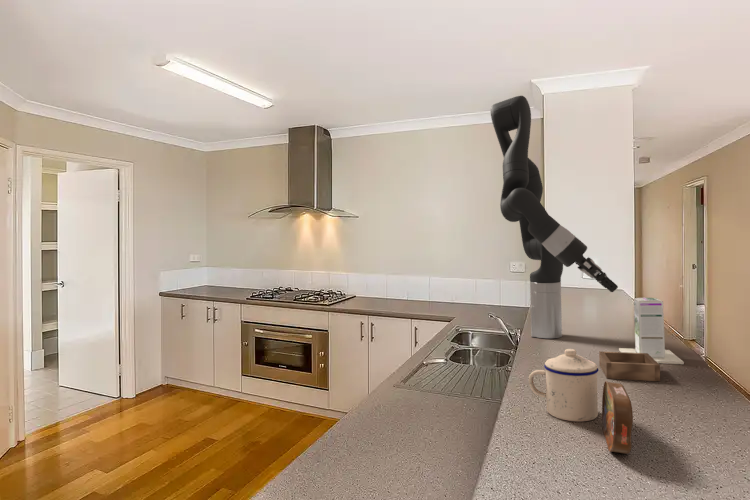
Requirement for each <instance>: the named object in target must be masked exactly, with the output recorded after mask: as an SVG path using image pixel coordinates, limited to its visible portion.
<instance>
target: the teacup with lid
mask: <svg viewBox="0 0 750 500" xmlns="http://www.w3.org/2000/svg"><path fill="white" fill-rule="evenodd" d="M543 367H544V369H545V370H544V369H535V370H533V371H532V372H531V373H530V374H529V375H528V385H529V388H530V389H531V391H532V392H533V393H534V394H535V395H537V396H538V397H540V398H545V399H546V412H548V414H550V415H551V416H552V417H553V418H557V419H559V420H562V421H568V422H576V423H577V422H578V423H579V422H590V421H593V420H595V419H597V417H598V414H599V412H598V411H599V410H598V409H599V408H598V405H599V403H598V402H599V401H598V398H599V397H598V372H599V367H598V365H597V363H595V362H593V361H592V360H589V359H587V358H584V357H583V356H581V355H579V354H577V350H576V349H573V348H566V349H565V350H564V353H563V354H560V355H557V356H555V357H552V358H548V359H547V360H546V361H545V362H544V365H543ZM537 375H543V376H545V392H543V391H540V390H539V389H537V387H536V386H535V384H534V376H537Z"/></svg>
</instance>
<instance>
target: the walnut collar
mask: <svg viewBox="0 0 750 500" xmlns="http://www.w3.org/2000/svg"><path fill="white" fill-rule="evenodd" d="M598 357H599V358H598V360H599V361H598V362H599V368H600V369H601V371H602V373H603V374H604V376H605V378H606V379H611V380H612V379H613V380H626V381H627V380H630V381H631V380H632V381H647V382H650V381H651V382H661V365H660V363H657V362H656V361H655V360H654V359H653V358H652V357H651V356H650V355H649V354H648V353H628V352H620V351H603V350H602V351H599V353H598Z"/></svg>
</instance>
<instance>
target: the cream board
mask: <svg viewBox="0 0 750 500" xmlns="http://www.w3.org/2000/svg"><path fill="white" fill-rule="evenodd" d="M618 352H628V353H636V352H635V348H627V347H626V348H625V347H624V348H623V347H622V348H621V347H619V348H618ZM653 359H654V360H655V361H656V362H657V363H658V364H668V365H669V364H670V365H684V363H685V362H684V361H683V360H682V359H681V358H679V356H677V355H676V354H675V353H673V352H672V351H671V350H670V349H665V358H653Z"/></svg>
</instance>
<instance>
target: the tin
mask: <svg viewBox="0 0 750 500" xmlns="http://www.w3.org/2000/svg"><path fill="white" fill-rule="evenodd" d="M601 406H602V407H601V414H602V415H601V423H602V431H603V435H604V438H605V442H606V447H607V449H608V451H609V453H611V452H613V453H618V454H625V455H626V454H630V453H631V450H632V446H633V445H632V431H633V430H632V427H633V423H634V414H633V413H634V411H633V406H632V401H631V399H630V397H629V395H628V393H627V390H626V389H625V386H624V385H623V384H622V383H618V382H609V381H607V380H605V381H604V383H603V387H602V400H601Z"/></svg>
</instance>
